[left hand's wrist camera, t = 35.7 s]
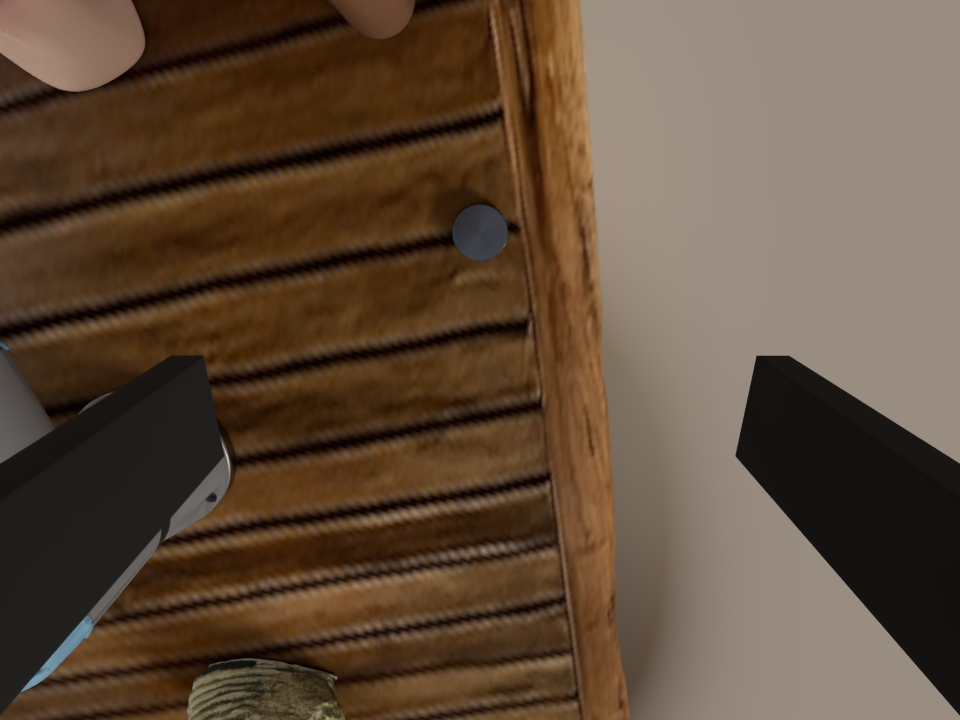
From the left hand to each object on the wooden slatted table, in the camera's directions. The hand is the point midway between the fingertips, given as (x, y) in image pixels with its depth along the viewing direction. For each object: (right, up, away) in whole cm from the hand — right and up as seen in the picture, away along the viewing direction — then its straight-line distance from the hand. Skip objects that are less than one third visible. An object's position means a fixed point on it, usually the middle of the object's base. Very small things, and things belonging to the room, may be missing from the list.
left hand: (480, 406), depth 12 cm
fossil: (-25, -39, +51) cm, 69 cm away
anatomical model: (-32, +27, +25) cm, 49 cm away
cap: (0, +12, +30) cm, 32 cm away
